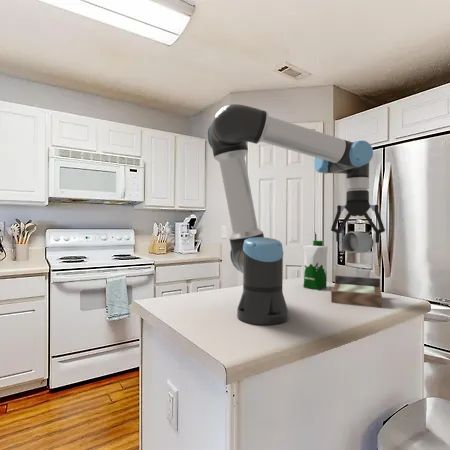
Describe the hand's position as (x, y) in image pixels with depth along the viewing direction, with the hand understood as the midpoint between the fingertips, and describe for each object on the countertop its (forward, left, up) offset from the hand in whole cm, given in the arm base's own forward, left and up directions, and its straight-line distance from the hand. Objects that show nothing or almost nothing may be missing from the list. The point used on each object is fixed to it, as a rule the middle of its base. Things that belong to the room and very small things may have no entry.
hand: (357, 251), depth 117 cm
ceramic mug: (-1, +1, -1) cm, 1 cm away
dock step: (0, +1, -18) cm, 18 cm away
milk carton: (-17, +16, -18) cm, 30 cm away
